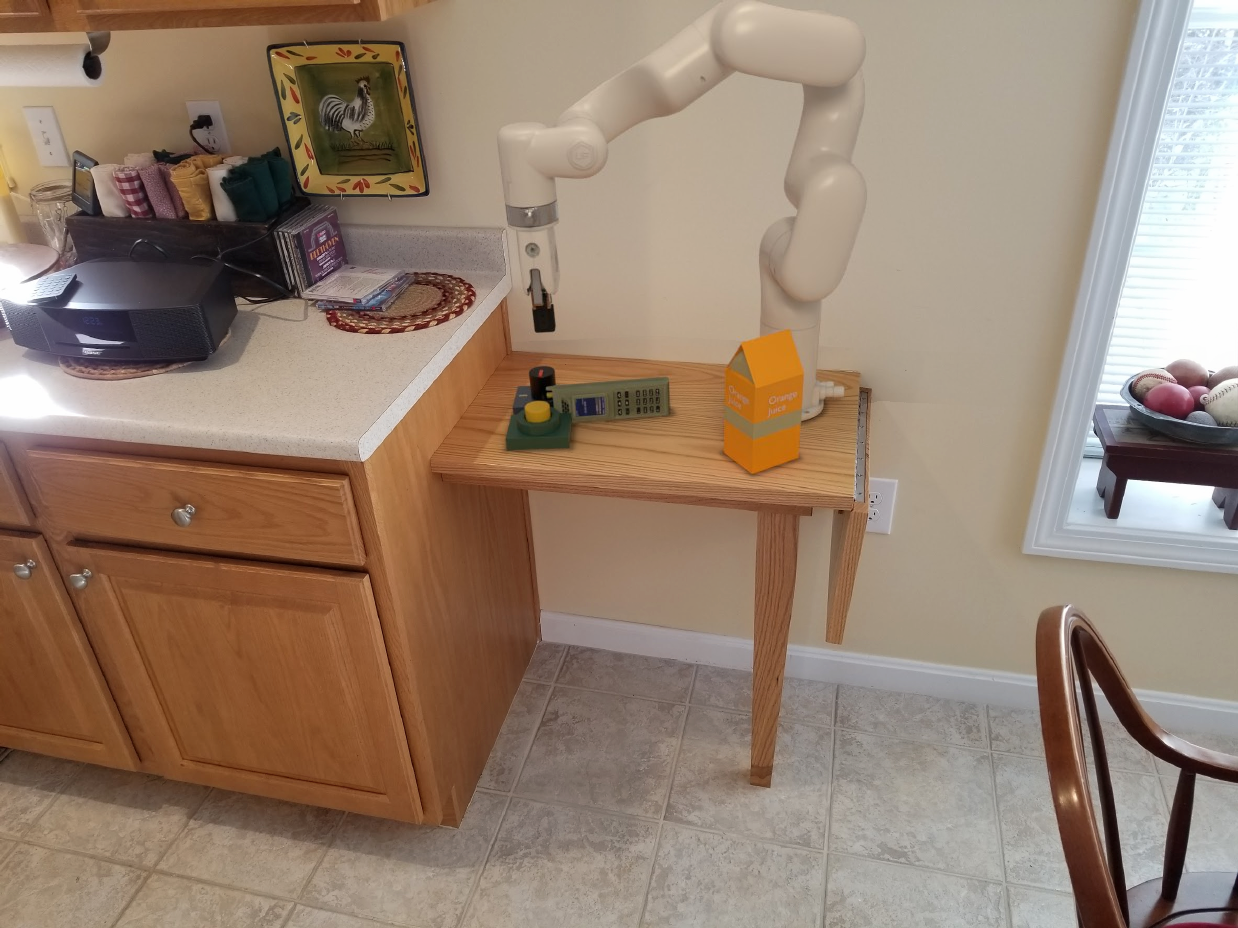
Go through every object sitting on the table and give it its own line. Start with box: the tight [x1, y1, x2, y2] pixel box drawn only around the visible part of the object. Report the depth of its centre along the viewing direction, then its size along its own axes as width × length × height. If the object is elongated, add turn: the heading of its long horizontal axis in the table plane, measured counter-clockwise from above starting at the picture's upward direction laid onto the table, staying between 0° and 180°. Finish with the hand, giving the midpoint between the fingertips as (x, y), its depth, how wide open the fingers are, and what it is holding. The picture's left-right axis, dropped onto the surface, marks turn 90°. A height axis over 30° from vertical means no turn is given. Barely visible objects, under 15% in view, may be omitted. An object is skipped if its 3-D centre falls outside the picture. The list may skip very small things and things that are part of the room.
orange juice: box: [723, 329, 804, 475], centre depth 135 cm, size 8×9×20 cm
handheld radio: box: [546, 376, 671, 424], centre depth 152 cm, size 7×3×25 cm
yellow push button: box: [525, 401, 551, 423], centre depth 146 cm, size 4×4×2 cm
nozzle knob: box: [528, 365, 557, 401], centre depth 154 cm, size 4×4×5 cm
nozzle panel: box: [512, 383, 567, 415], centre depth 156 cm, size 10×9×3 cm
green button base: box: [505, 407, 573, 451], centre depth 147 cm, size 10×8×4 cm
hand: (545, 330), depth 141 cm, fingers closed
